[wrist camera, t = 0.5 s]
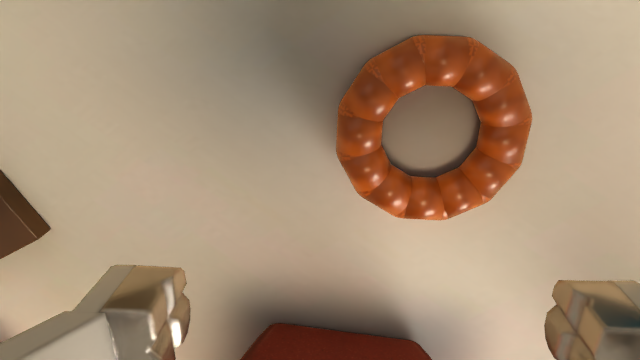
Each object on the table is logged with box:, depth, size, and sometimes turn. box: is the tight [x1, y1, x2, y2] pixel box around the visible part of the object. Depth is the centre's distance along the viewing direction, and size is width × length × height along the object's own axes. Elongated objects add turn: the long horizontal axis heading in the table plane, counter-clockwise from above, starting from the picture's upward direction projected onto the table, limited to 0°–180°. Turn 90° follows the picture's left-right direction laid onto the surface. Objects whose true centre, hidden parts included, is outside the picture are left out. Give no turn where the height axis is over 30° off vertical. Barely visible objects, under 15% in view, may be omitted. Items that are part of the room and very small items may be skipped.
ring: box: [336, 35, 532, 220], centre depth 27 cm, size 12×12×3 cm
